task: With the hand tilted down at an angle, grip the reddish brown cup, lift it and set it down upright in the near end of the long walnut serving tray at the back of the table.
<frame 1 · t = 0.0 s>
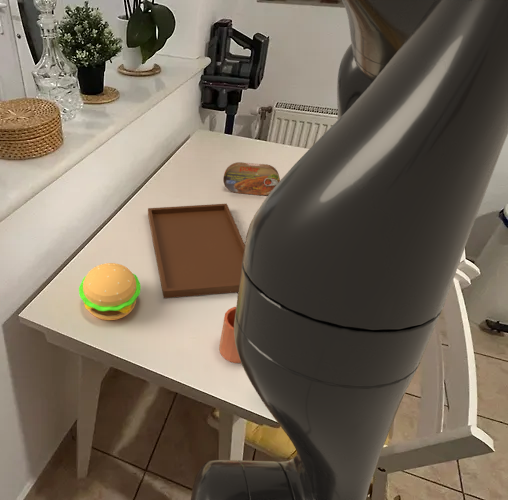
hand: (311, 310, 61), 19 cm above the table, tool pointing down, fingers open, 8 cm apart
reddish brown cup: (235, 349, 79), on the table
hamburger: (111, 304, 87), on the table
tray: (198, 248, 100), on the table
tin: (248, 192, 120), on the table
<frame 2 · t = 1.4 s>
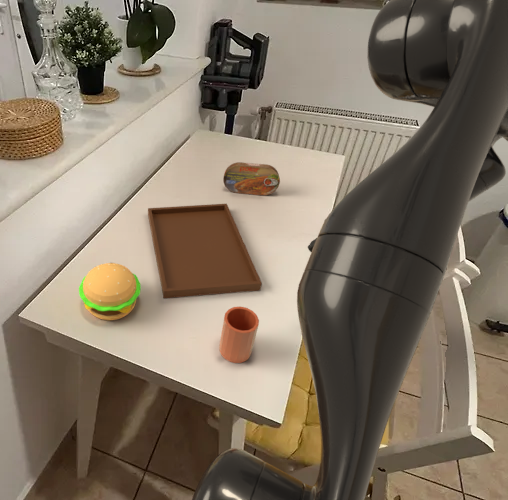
hand: (321, 269, 68), 19 cm above the table, tool tilted 45°, fingers open, 8 cm apart
nothing on the table moved.
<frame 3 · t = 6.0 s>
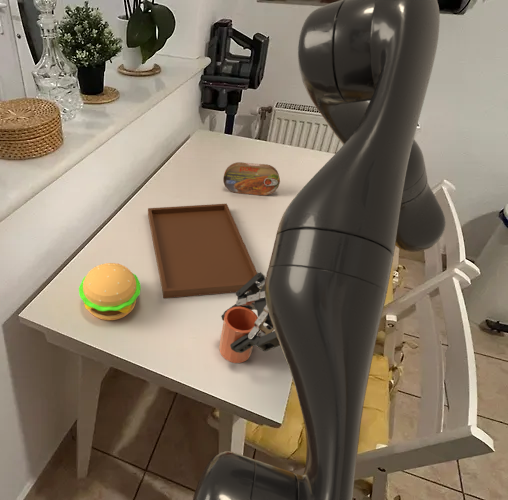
hand: (229, 334, 75), 5 cm above the table, tool tilted 45°, fingers closed on reddish brown cup, 6 cm apart
reddish brown cup: (235, 349, 79), on the table, touching gripper
everything else where it was.
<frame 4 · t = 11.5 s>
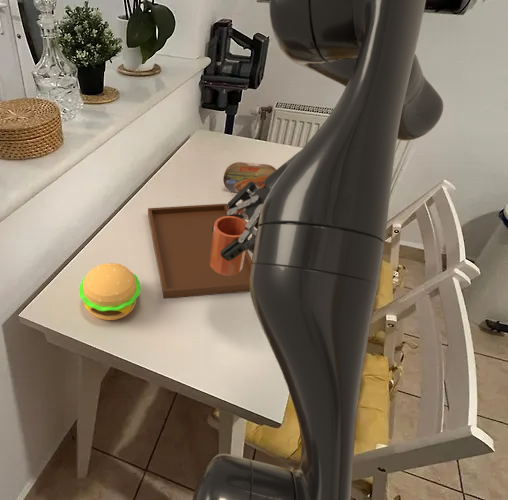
hand: (219, 244, 73), 18 cm above the table, tool tilted 45°, fingers closed on reddish brown cup, 6 cm apart
reddish brown cup: (226, 264, 76), point 14 cm above the table, touching gripper
everything else where it was.
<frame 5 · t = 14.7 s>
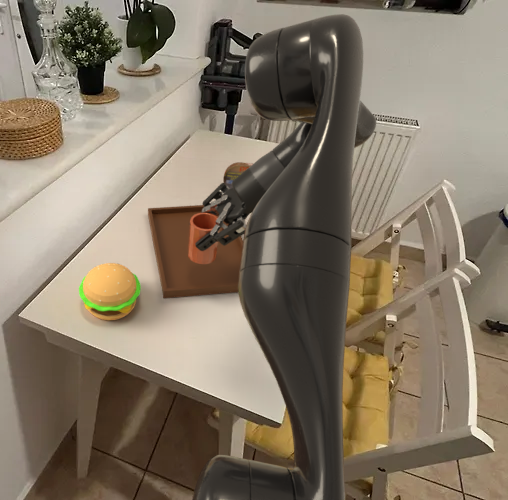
hand: (195, 237, 84), 12 cm above the table, tool tilted 45°, fingers closed on reddish brown cup, 6 cm apart
reddish brown cup: (202, 254, 88), point 7 cm above the table, touching gripper
everything else where it was.
when the fingers open (5 cm above the table, at t = 17.1 s): reddish brown cup stays where it is, resting on tray.
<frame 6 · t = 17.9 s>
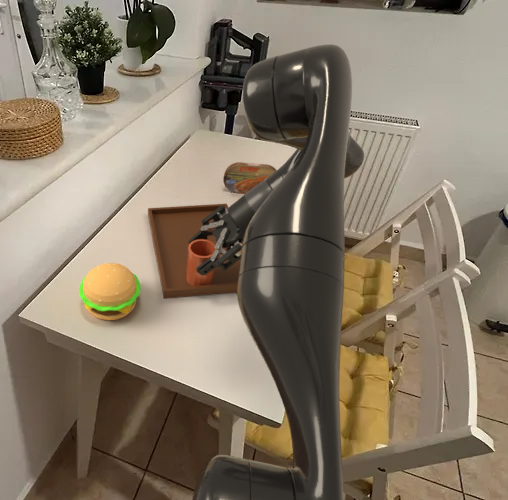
hand: (195, 258, 88), 7 cm above the table, tool tilted 45°, fingers open, 8 cm apart
reddish brown cup: (199, 278, 92), point 1 cm above the table, touching tray
everything else where it was.
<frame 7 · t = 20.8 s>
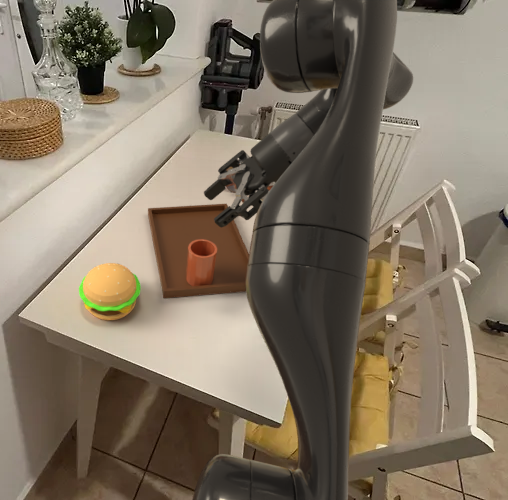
hand: (211, 209, 77), 20 cm above the table, tool tilted 45°, fingers open, 8 cm apart
nothing on the table moved.
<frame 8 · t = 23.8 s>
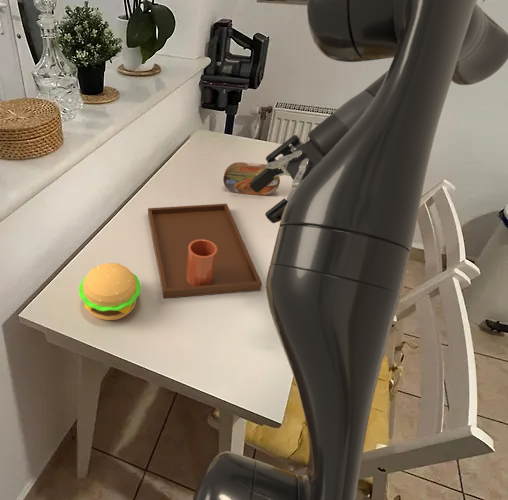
hand: (260, 203, 68), 27 cm above the table, tool tilted 45°, fingers open, 8 cm apart
nothing on the table moved.
at the end: reddish brown cup inside the target area in the tray (10.6 cm from its centre), point 0.6 cm above the tray's base; reddish brown cup tilted 0°; the gripper is holding nothing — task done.
